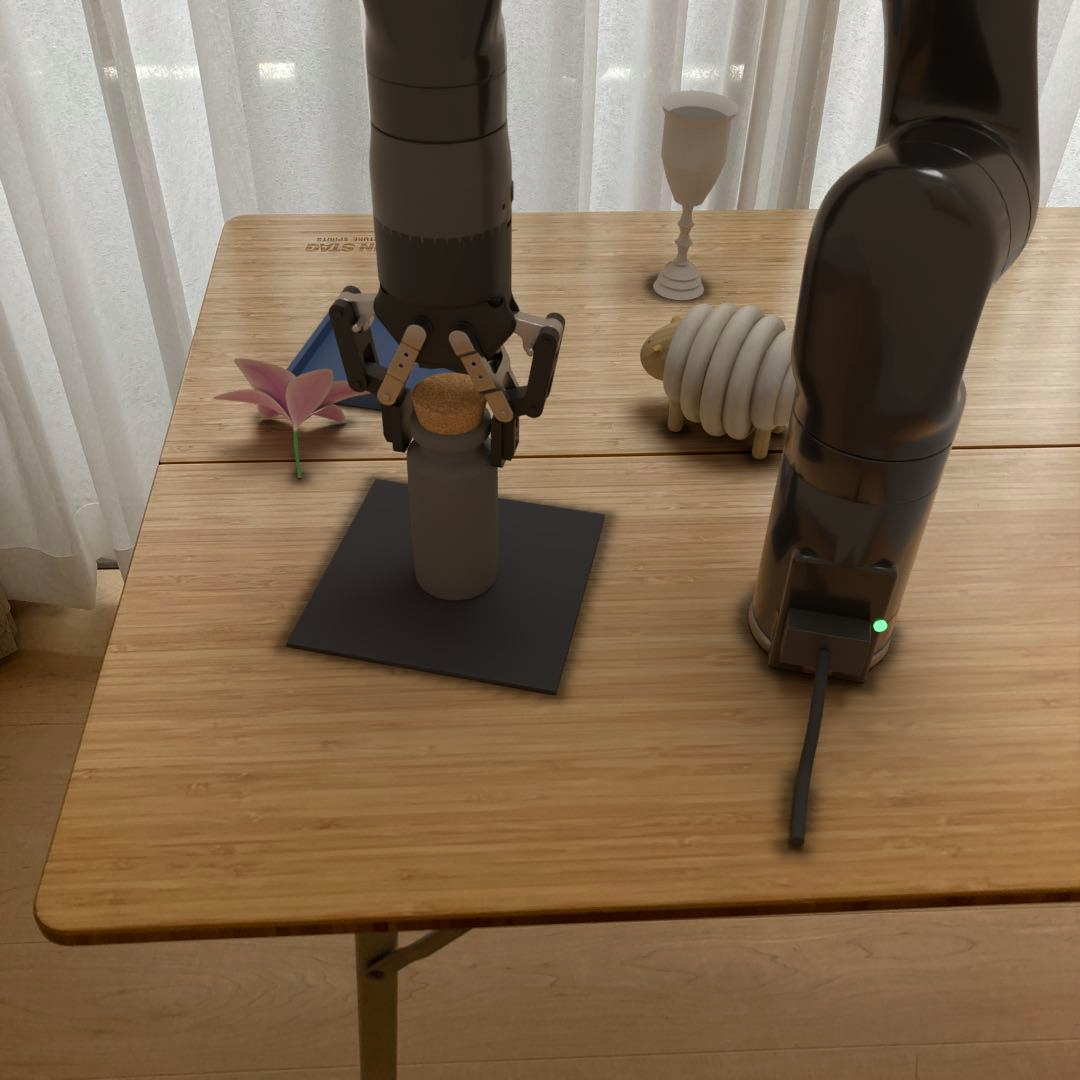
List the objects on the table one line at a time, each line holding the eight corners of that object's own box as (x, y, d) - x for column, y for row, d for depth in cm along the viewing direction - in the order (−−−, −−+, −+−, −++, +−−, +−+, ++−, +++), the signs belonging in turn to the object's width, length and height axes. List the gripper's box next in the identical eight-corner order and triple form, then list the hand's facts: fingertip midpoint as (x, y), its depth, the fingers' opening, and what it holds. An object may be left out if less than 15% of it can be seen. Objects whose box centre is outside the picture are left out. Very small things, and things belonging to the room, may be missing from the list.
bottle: (503, 548, 80) (502, 370, 70) (492, 605, 75) (490, 423, 66) (423, 542, 80) (411, 363, 70) (407, 597, 76) (392, 415, 66)
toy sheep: (656, 376, 98) (668, 261, 91) (846, 426, 93) (875, 307, 86) (611, 439, 91) (620, 319, 83) (814, 497, 86) (842, 374, 78)
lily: (410, 459, 90) (394, 339, 88) (323, 486, 80) (303, 351, 78) (291, 464, 95) (274, 351, 93) (195, 490, 85) (174, 364, 83)
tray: (453, 420, 92) (453, 403, 91) (281, 395, 95) (279, 378, 93) (498, 329, 104) (497, 313, 102) (343, 309, 106) (341, 293, 105)
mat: (555, 694, 70) (556, 691, 70) (286, 646, 73) (285, 643, 72) (604, 517, 83) (605, 514, 83) (375, 481, 86) (375, 478, 86)
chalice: (630, 277, 112) (646, 95, 100) (689, 265, 114) (710, 86, 102) (667, 311, 107) (687, 124, 95) (727, 297, 109) (754, 113, 97)
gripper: (289, 216, 58) (324, 471, 69) (558, 248, 56) (549, 506, 67) (339, 160, 64) (364, 404, 75) (586, 188, 62) (573, 435, 73)
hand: (452, 451), depth 71 cm, fingers closed on bottle, 6 cm apart
